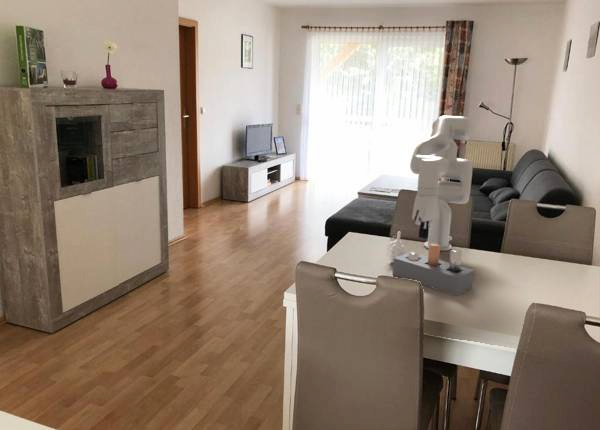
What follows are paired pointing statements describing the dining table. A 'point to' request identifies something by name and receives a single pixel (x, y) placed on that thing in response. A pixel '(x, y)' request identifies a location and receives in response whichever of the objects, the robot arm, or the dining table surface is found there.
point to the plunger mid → (433, 255)
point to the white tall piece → (396, 248)
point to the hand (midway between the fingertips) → (423, 237)
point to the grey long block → (434, 274)
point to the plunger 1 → (413, 256)
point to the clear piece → (455, 260)
